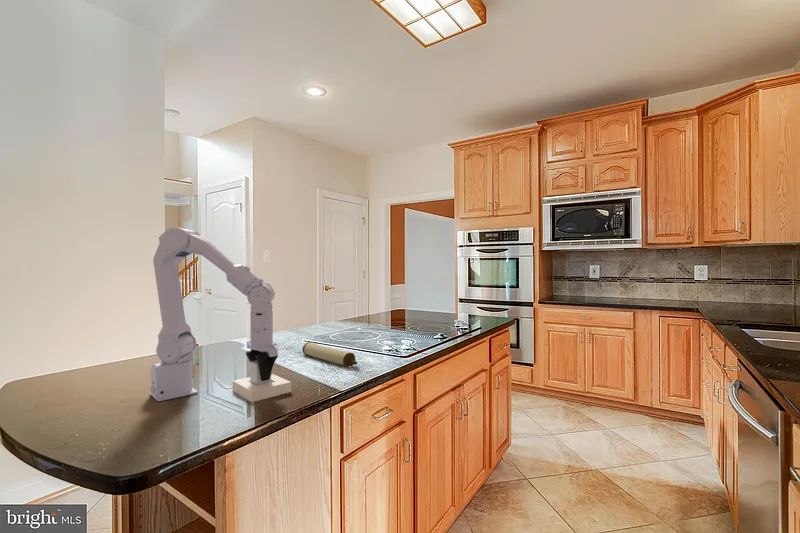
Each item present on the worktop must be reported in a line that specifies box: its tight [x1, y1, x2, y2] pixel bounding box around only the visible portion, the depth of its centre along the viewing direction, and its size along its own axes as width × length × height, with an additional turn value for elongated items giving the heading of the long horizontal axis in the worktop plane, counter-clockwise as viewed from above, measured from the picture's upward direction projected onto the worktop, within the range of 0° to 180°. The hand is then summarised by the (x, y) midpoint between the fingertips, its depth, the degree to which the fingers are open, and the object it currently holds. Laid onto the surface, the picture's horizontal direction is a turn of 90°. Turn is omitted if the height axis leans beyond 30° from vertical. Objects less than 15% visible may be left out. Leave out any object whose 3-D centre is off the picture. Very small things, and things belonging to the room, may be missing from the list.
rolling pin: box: [301, 341, 358, 368], centre depth 141 cm, size 32×6×5 cm, turn 46°
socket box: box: [232, 372, 292, 403], centre depth 107 cm, size 11×12×3 cm
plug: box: [249, 360, 271, 386], centre depth 107 cm, size 4×4×8 cm
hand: (261, 378), depth 107 cm, fingers closed on plug, 4 cm apart
